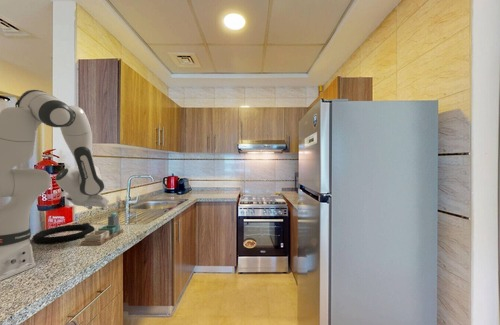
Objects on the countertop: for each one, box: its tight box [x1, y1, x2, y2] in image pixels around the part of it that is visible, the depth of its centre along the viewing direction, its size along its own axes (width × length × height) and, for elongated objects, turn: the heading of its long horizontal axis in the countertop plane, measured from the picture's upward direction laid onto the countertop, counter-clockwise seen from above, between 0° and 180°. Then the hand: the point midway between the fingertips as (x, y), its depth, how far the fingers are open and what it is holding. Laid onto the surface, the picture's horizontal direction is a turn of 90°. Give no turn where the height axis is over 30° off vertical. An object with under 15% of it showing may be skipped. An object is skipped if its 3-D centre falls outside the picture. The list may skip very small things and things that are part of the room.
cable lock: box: [31, 222, 95, 245], centre depth 134 cm, size 28×4×30 cm
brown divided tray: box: [80, 224, 124, 246], centre depth 129 cm, size 22×10×4 cm, turn 2°
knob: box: [107, 212, 120, 225], centre depth 146 cm, size 4×4×10 cm
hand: (97, 208), depth 134 cm, fingers open, 8 cm apart
